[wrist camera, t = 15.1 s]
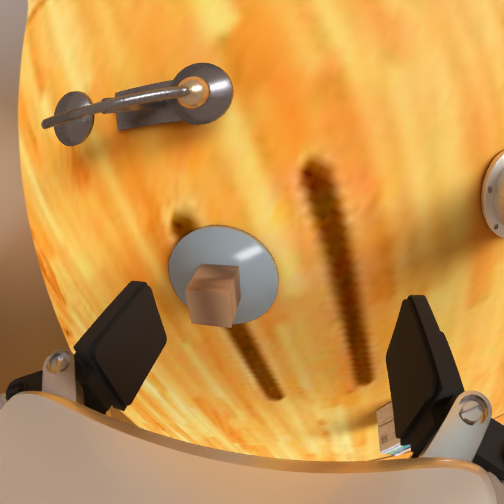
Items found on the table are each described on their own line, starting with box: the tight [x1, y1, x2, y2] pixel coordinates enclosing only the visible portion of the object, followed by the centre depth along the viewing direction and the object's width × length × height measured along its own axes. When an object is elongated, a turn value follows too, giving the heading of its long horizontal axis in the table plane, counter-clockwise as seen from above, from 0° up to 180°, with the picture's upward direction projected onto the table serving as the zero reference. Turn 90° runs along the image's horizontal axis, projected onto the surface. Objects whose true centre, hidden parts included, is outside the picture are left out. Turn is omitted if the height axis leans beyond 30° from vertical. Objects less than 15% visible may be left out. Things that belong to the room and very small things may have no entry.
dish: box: [169, 225, 279, 324], centre depth 38 cm, size 15×15×1 cm
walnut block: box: [185, 264, 241, 328], centre depth 35 cm, size 5×5×6 cm
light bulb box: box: [376, 402, 411, 456], centre depth 42 cm, size 11×7×11 cm, turn 147°
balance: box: [41, 63, 233, 146], centre depth 23 cm, size 20×6×13 cm, turn 91°
